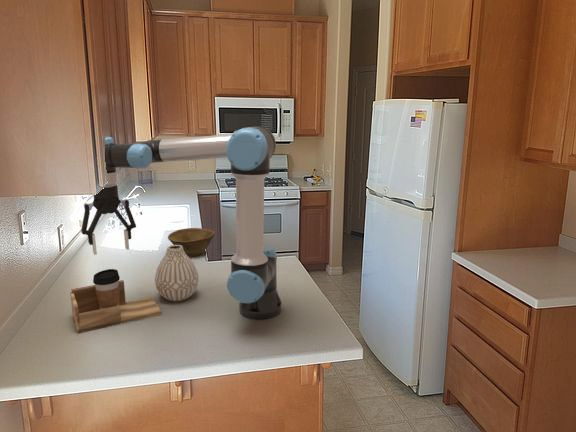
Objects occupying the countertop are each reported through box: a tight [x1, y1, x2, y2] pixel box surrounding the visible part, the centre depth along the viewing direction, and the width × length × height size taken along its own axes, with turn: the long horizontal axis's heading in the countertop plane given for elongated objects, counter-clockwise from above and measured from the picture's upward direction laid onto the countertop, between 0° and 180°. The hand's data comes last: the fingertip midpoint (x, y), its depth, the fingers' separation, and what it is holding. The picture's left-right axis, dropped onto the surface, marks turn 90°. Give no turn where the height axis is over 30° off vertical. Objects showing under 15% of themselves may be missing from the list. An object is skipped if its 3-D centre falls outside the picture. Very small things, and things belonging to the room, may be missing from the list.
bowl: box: [167, 227, 215, 257], centre depth 227 cm, size 22×23×10 cm
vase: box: [154, 244, 199, 302], centre depth 174 cm, size 16×16×20 cm
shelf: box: [69, 279, 163, 334], centre depth 160 cm, size 14×27×10 cm, turn 120°
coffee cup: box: [92, 268, 121, 309], centre depth 158 cm, size 8×8×15 cm
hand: (111, 251), depth 156 cm, fingers open, 10 cm apart
